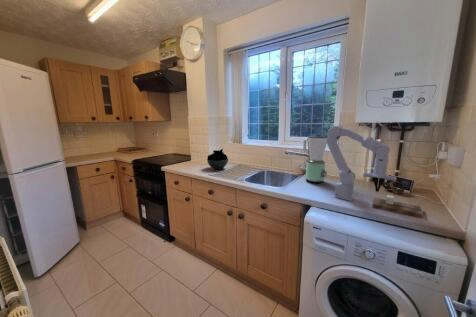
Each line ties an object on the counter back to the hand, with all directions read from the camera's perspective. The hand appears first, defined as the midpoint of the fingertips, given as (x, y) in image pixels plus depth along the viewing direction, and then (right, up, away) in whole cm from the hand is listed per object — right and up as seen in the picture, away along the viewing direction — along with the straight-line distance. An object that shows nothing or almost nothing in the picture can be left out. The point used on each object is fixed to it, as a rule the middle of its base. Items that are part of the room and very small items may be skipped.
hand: (377, 191), depth 109 cm
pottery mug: (+24, -4, +20) cm, 32 cm away
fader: (+5, -6, -2) cm, 8 cm away
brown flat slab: (+7, -9, -4) cm, 12 cm away
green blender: (-19, 0, +43) cm, 47 cm away
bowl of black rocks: (-96, +8, +82) cm, 126 cm away
